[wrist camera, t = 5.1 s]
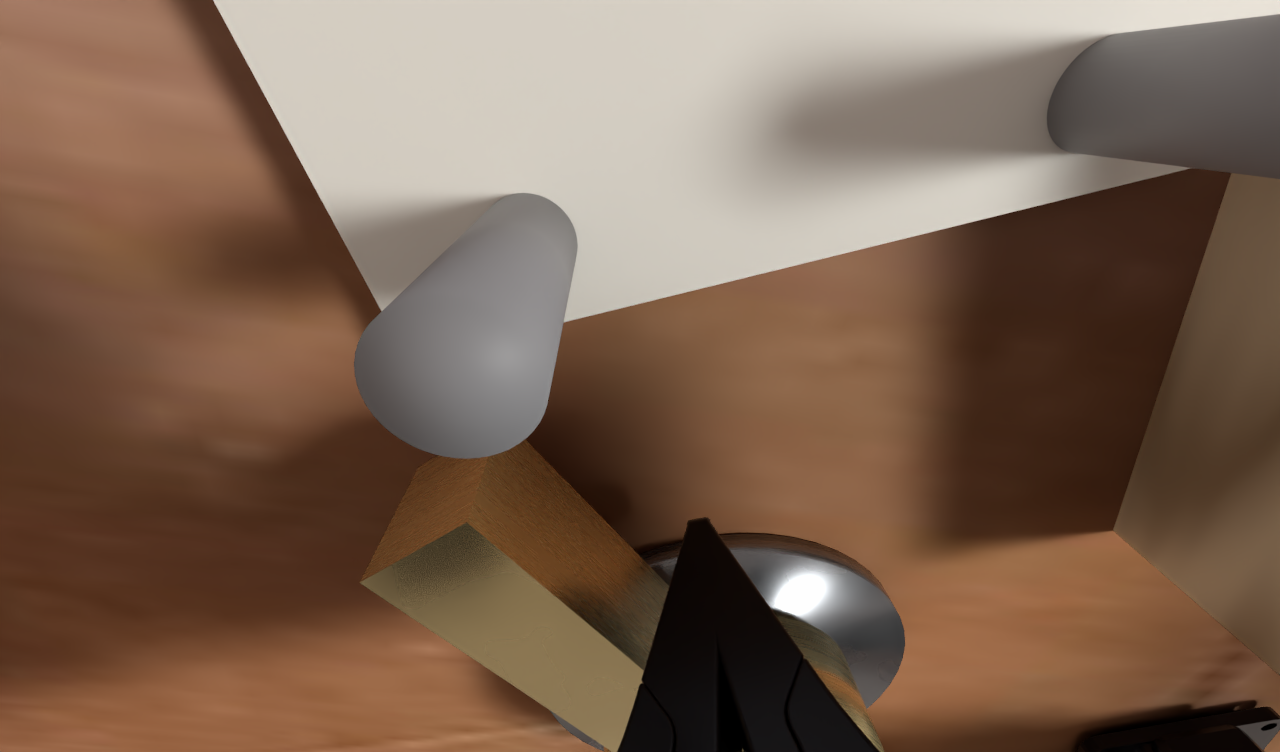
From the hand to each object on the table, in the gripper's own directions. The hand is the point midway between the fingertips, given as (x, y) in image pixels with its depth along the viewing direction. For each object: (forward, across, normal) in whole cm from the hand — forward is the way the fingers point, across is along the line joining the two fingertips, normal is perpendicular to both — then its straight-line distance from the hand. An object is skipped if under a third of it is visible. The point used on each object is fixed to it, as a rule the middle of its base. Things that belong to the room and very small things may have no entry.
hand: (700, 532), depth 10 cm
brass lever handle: (0, +1, +3) cm, 4 cm away
